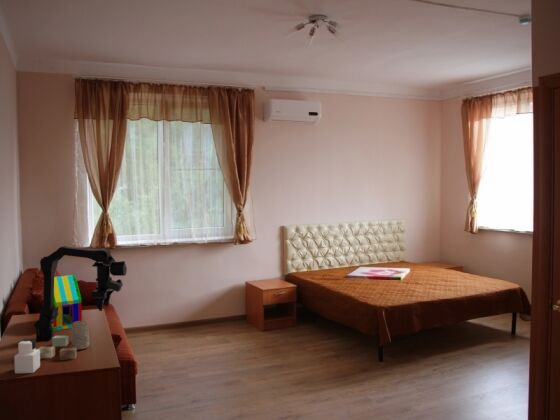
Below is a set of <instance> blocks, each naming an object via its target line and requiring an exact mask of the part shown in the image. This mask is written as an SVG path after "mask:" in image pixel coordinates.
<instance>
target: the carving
mask: <svg viewBox="0 0 560 420" xmlns="http://www.w3.org/2000/svg"><path fill="white" fill-rule="evenodd" d="M70 329H71V331H70V334H71V335H70V338H71V344H72V348H75V347H76V348H77V351H78V350H83V349H86V348H88V347H89V345H90V331H89V325H88V323H87V321H84V320H82V321H76V322H74V323H73V324H72V328H70Z"/></svg>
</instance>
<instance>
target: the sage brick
mask: <svg viewBox="0 0 560 420" xmlns="http://www.w3.org/2000/svg"><path fill="white" fill-rule="evenodd" d="M53 336H54V337H53V338H52V339H51V346H55V347H67V346H68V345H69V335H53Z"/></svg>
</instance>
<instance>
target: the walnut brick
mask: <svg viewBox="0 0 560 420" xmlns="http://www.w3.org/2000/svg"><path fill="white" fill-rule="evenodd" d="M77 352H78V350H77V348H76V347H75V348H73V347H63V348H60V350H59V361H69V360H68V359H70V360H76V358H77V356H78V353H77Z"/></svg>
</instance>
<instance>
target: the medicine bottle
mask: <svg viewBox="0 0 560 420" xmlns="http://www.w3.org/2000/svg"><path fill="white" fill-rule="evenodd" d="M13 360H14V363H13V364H14V374H34V373H35V372H36V371H37V370H38V369H39V368H40V367H41V358H40V350H37V348H36V341H35V339H33V338H26V339H22V340H20V341H19V342H18V352H17V354H15V355H14V358H13Z"/></svg>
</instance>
